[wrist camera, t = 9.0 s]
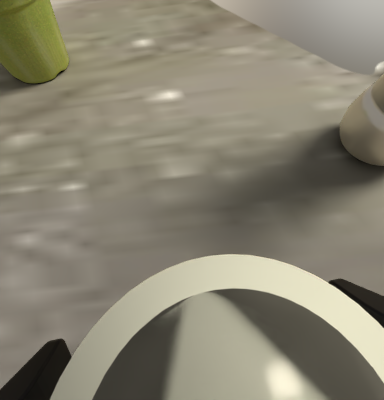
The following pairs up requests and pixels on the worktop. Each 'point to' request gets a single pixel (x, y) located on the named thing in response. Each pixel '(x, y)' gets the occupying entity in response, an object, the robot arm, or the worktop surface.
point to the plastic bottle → (365, 125)
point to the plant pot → (31, 40)
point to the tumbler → (229, 338)
